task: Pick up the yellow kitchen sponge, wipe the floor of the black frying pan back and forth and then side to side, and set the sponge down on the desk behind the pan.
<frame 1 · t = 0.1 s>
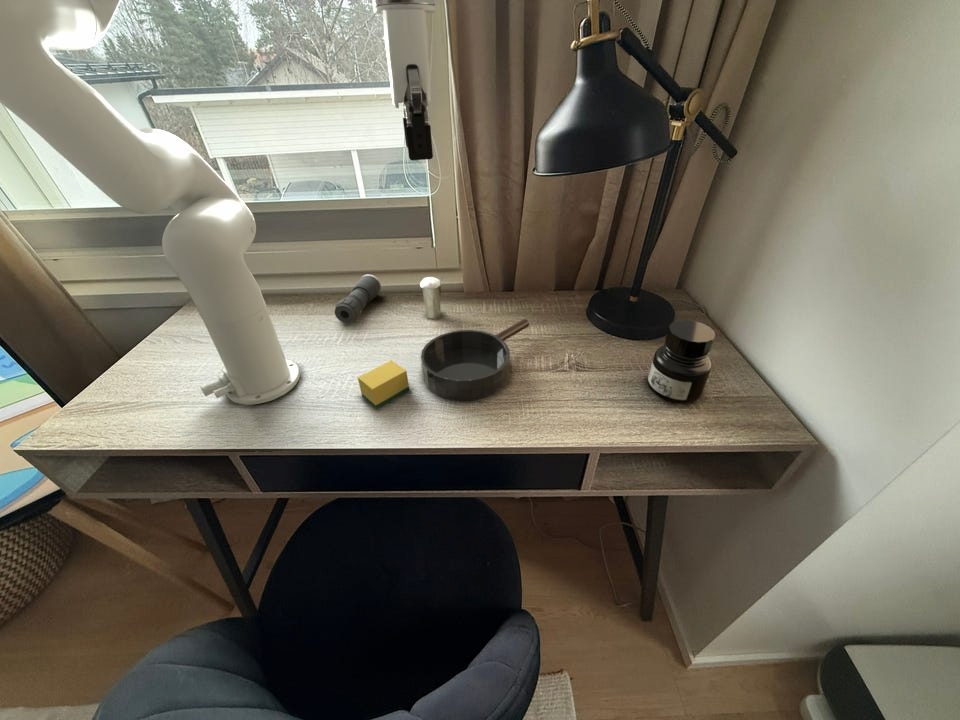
hand: (418, 152, 61), 37 cm above the table, tool pointing down, fingers open, 9 cm apart
pan handle: (511, 331, 85), point 3 cm above the table
flashlight: (360, 308, 101), on the table
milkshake: (435, 316, 97), on the table
pan: (466, 372, 79), on the table
sponge: (386, 393, 75), on the table
ink bottle: (673, 389, 74), on the table
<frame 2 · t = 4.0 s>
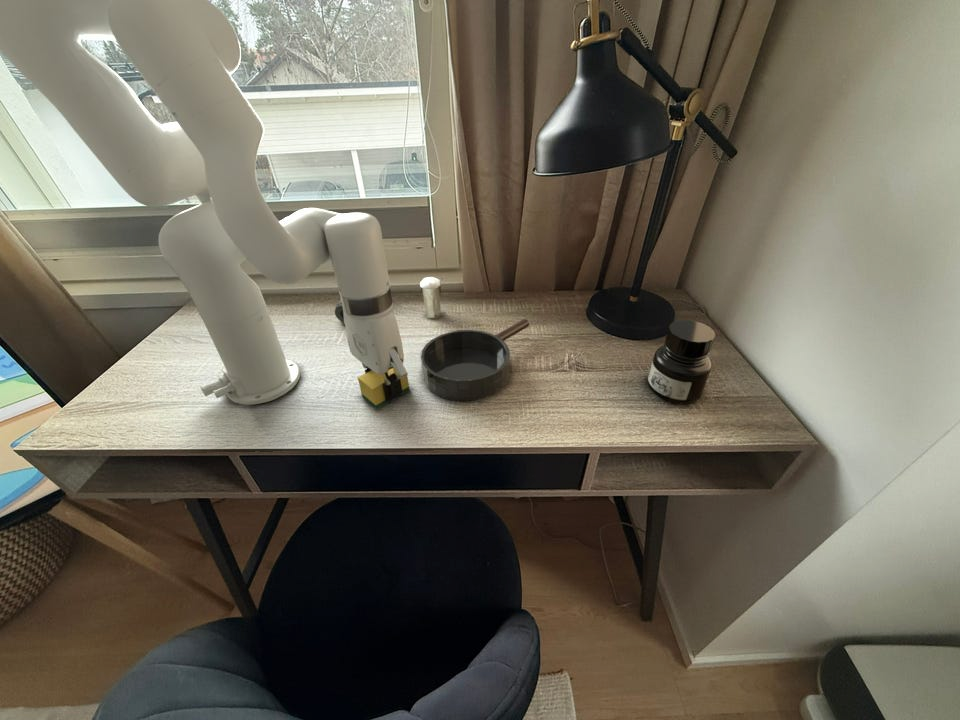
hand: (385, 390, 75), 1 cm above the table, tool pointing down, fingers closed on sponge, 4 cm apart
sponge: (386, 393, 75), on the table, touching gripper
everything else where it was.
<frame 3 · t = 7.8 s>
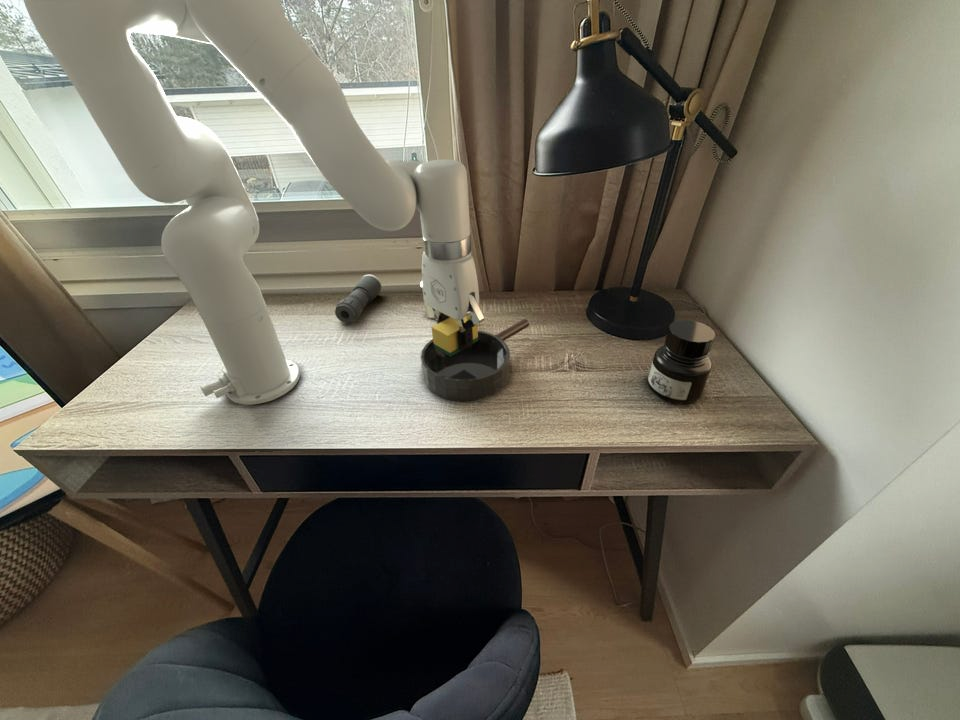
hand: (455, 340, 78), 6 cm above the table, tool pointing down, fingers closed on sponge, 4 cm apart
sponge: (456, 343, 78), point 5 cm above the table, touching gripper
everything else where it was.
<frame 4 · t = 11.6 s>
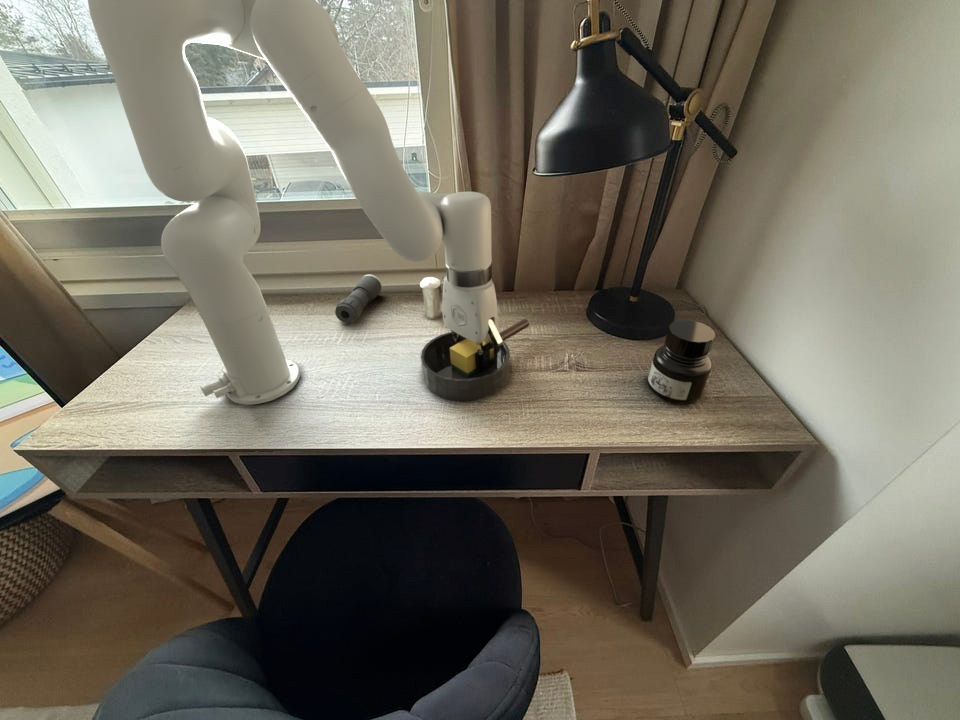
hand: (473, 361, 80), 1 cm above the table, tool pointing down, fingers closed on sponge, 4 cm apart
sponge: (472, 363, 80), point 1 cm above the table, touching gripper
everything else where it was.
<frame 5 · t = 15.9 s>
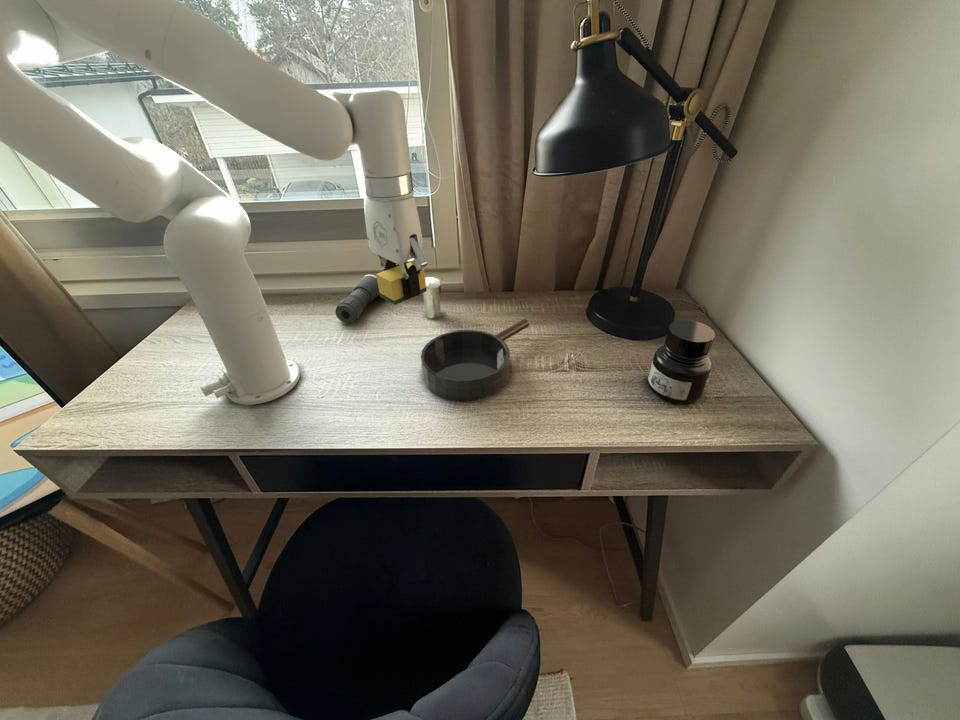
hand: (403, 291, 76), 14 cm above the table, tool pointing down, fingers closed on sponge, 4 cm apart
sponge: (403, 294, 76), point 14 cm above the table, touching gripper
everything else where it was.
when the fingers open (0 cm above the table, at t = 19.5 s): sponge stays where it is, on the table.
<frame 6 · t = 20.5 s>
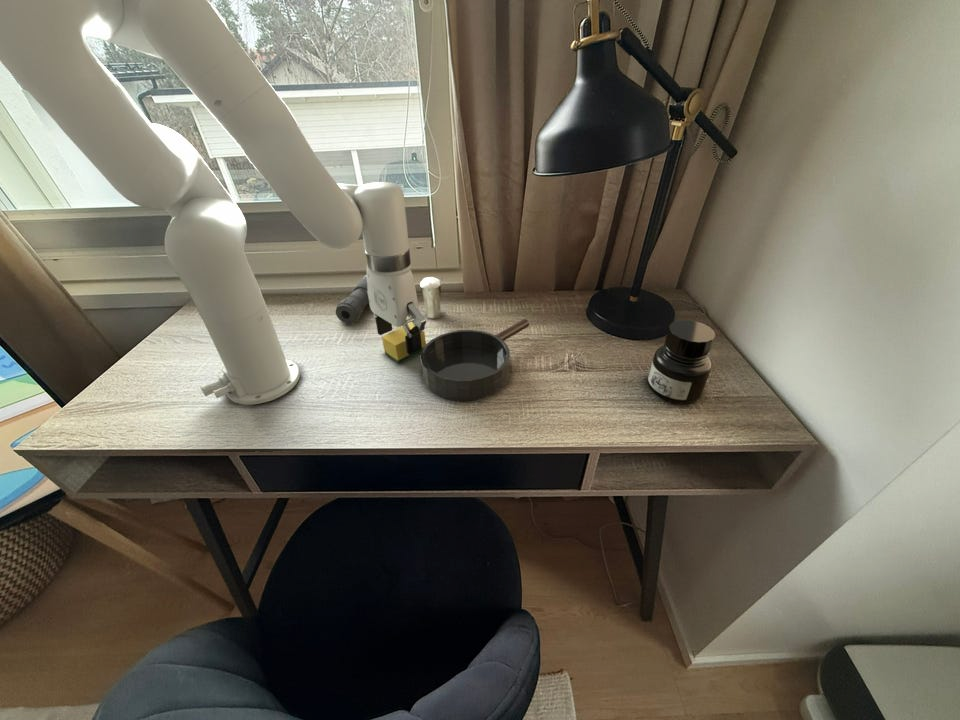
hand: (399, 341, 84), 3 cm above the table, tool pointing down, fingers open, 9 cm apart
sponge: (406, 352, 85), on the table
everything else where it was.
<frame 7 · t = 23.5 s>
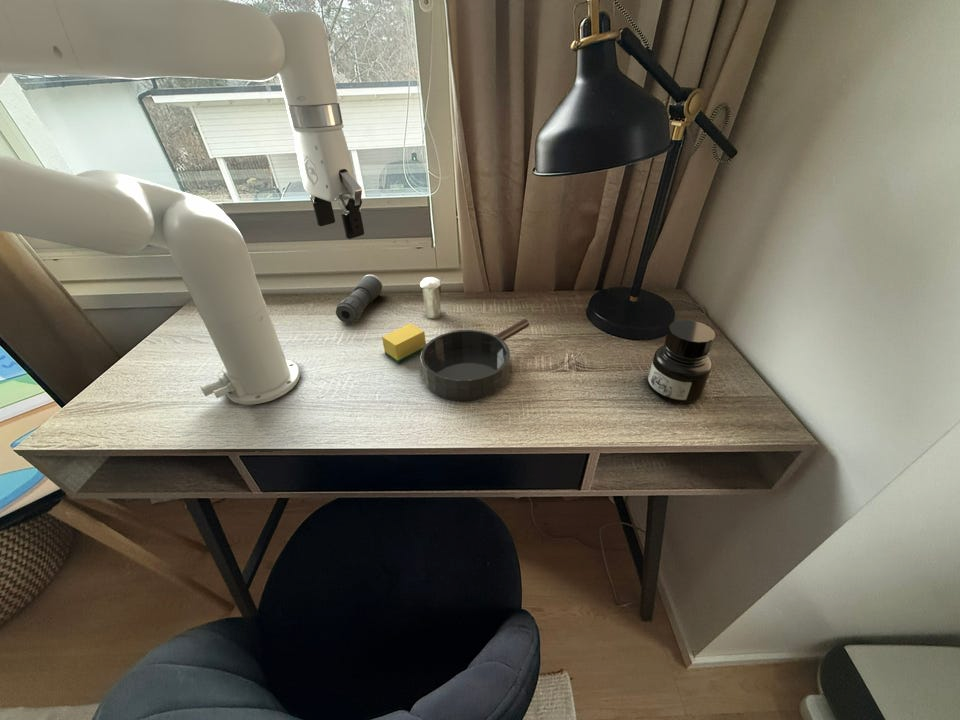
hand: (340, 230, 74), 24 cm above the table, tool pointing down, fingers open, 9 cm apart
nothing on the table moved.
at the end: sponge inside the target area (0.3 cm from its centre), on the table; the gripper is holding nothing; sponge tilted 0° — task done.
